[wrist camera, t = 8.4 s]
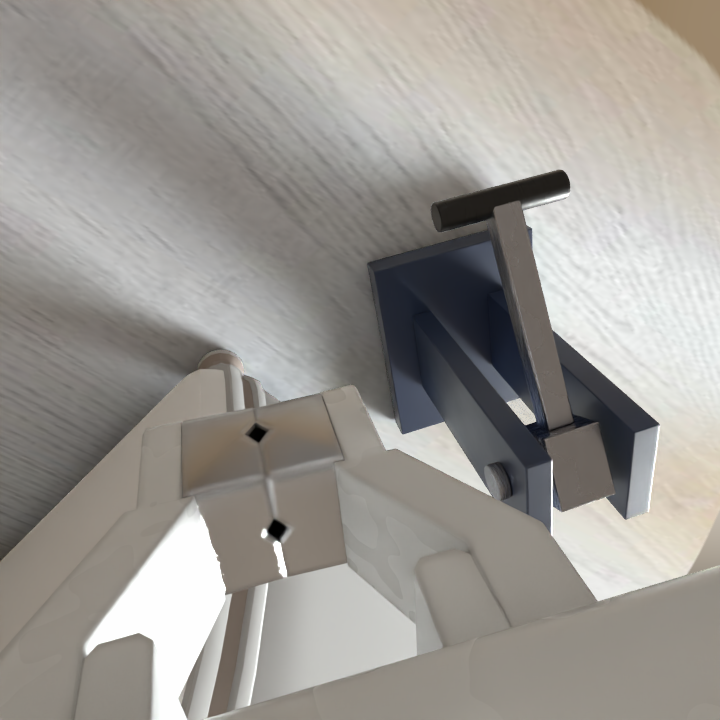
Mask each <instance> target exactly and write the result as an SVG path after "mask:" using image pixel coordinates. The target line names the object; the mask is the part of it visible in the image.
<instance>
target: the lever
mask: <svg viewBox="0 0 720 720" xmlns="http://www.w3.org/2000/svg"><path fill="white" fill-rule="evenodd" d="M569 193H570V182H569V178H568V176H567V174H566V173H565V172H564V171H563V170H556V171H552V172H549V173H545V174H541V175H537V176H533V177H529V178H526V179H522V180H518V181H514V182H510V183H507V184H503V185H499V186H495V187H491V188H488V189H484V190H480V191H476V192H472V193H469V194H465V195H461V196H457V197H453V198H450V199H446V200H442V201H438V202H434V203H433V204H432V206H431V216H432V220H433V224H434V226H435V228H436V230H437V231H438V232H445V231H448V230H452V229H456V228H459V227H463V226H467V225H470V224H474V223H478V222H482V221H485V220H486V223H487V227H488V231H489V235H490V239H491V243H492V247H493V251H494V255H495V259H496V262H497V266H498V270H499V274H500V278H501V282H502V286H503V290H504V294H505V298H506V302H507V306H508V310H509V314H510V318H511V322H512V326H513V330H514V334H515V338H516V342H517V346H518V350H519V354H520V358H521V362H522V366H523V370H524V374H525V378H526V382H527V386H528V390H529V394H530V398H531V402H532V406H533V410H534V414H535V418H536V422H535V423H531V424H528V425H525V426H526V428H527V429H528V430H529V431H530V433H531V434H532V435H533V436H534V437H535V439H536V440H537V441H538V442H539V444H540V445H541V446H542V447H543V448H544V450H545V451H546V452H547V453H548V455H549V456H550V457H551V458H552V461H553V465H552V506H553V507H555V508H556V509H558V510H559V511H561V512H564V511H567V510H570V509H573V508H576V507H579V506H582V505H585V504H588V503H591V502H593V501H596V500H599V499H602V498H605V497H608V496H611V495H614V494H616V492H615V487H614V483H613V479H612V475H611V471H610V467H609V462H608V458H607V454H606V450H605V446H604V442H603V437H602V433H601V429H600V425H599V422H597V421H594V420H590V419H587V418H584V417H581V416H577V415H574V414H572V410H571V406H570V402H569V398H568V394H567V389H566V385H565V381H564V377H563V373H562V369H561V365H560V361H559V357H558V353H557V349H556V345H555V340H554V336H553V332H552V328H551V324H550V320H549V316H548V312H547V308H546V304H545V300H544V296H543V291H542V287H541V283H540V279H539V275H538V271H537V267H536V263H535V259H534V255H533V251H532V247H531V242H530V238H529V234H528V230H527V226H526V222H525V218H524V214H523V210H526V209H530V208H533V207H537V206H541V205H545V204H548V203H552V202H556V201H559V200H563V199H566V198H567V197H568V195H569Z"/></svg>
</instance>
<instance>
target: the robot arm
mask: <svg viewBox="0 0 720 720" xmlns="http://www.w3.org/2000/svg"><path fill="white" fill-rule="evenodd" d="M345 563H348V566H349V567H350V568H351V569H352V570H353V571H354V572H356V573H357V574H358V575H359V576H360V577H361V578H362V579H364V580H365V581H366V582H367V583H368V584H369V585H371V586H372V587H373V588H374V589H375V590H376V591H377V592H379V593H380V594H381V595H382V596H383V597H384V598H386V599H387V600H388V601H389V602H390V603H391V604H392V605H394V606H395V607H396V608H397V609H398V610H399V611H401V612H402V613H403V614H404V615H405V616H406V617H408V618H409V619H410V620H411V621H412V622H413V623H414V624H416V641H417V656H414V657H411V658H407V659H404V660H401V661H397V662H394V663H391V664H387V665H384V666H380V667H377V668H374V669H370V670H367V671H364V672H360V673H357V674H354V675H350V676H347V677H343V678H340V679H337V680H333V681H330V682H327V683H323V684H320V685H317V686H313V687H310V688H307V689H303V690H300V691H296V692H293V693H290V694H286V695H283V696H280V697H276V698H273V699H270V700H266V701H263V702H260V703H256V704H253V705H249V706H246V707H243V708H239V709H236V710H233V711H229V712H226V713H223V714H219V715H216V716H213V717H209V718H206V719H202V720H720V565H719V566H716V567H712V568H709V569H706V570H702V571H699V572H695V573H692V574H689V575H685V576H682V577H678V578H675V579H672V580H668V581H665V582H662V583H658V584H655V585H652V586H648V587H645V588H642V589H638V590H635V591H631V592H628V593H625V594H621V595H618V596H615V597H611V598H608V599H605V600H601V601H597V600H596V598H595V597H594V595H593V594H592V593H591V591H590V590H589V588H588V587H587V585H586V584H585V582H584V581H583V580H582V578H581V577H580V575H579V574H578V572H577V571H576V570H575V568H574V567H573V565H572V564H571V562H570V561H569V560H568V558H567V557H566V555H565V554H564V552H563V551H562V549H561V548H560V547H559V545H558V544H557V542H556V541H555V539H554V538H553V537H552V535H551V534H550V532H549V531H548V529H547V528H546V527H545V525H544V524H543V522H541V521H539V520H537V519H535V518H533V517H531V516H529V515H527V514H525V513H523V512H521V511H519V510H517V509H515V508H513V507H511V506H509V505H507V504H505V503H503V502H501V501H499V500H497V499H495V498H493V497H491V496H489V495H487V494H485V493H483V492H481V491H479V490H477V489H475V488H473V487H471V486H469V485H467V484H465V483H463V482H461V481H459V480H457V479H455V478H453V477H451V476H449V475H447V474H445V473H443V472H441V471H439V470H437V469H435V468H433V467H431V466H429V465H427V464H425V463H423V462H421V461H419V460H417V459H415V458H413V457H411V456H409V455H407V454H406V453H404V452H402V451H400V450H398V449H392V450H388V451H386V450H385V448H384V445H383V443H382V441H381V439H380V437H379V435H378V433H377V430H376V428H375V426H374V424H373V422H372V420H371V418H370V416H369V413H368V411H367V409H366V407H365V405H364V403H363V401H362V398H361V396H360V394H359V392H358V390H357V388H356V387H355V386H354V385H348V386H344V387H340V388H335V389H331V390H327V391H323V392H320V393H318V394H314V395H309V396H305V397H300V398H296V399H292V400H287V401H283V402H278V403H274V404H270V405H265V406H261V407H256V408H253V407H252V408H247V409H242V410H237V411H231V412H226V413H221V414H216V415H210V416H205V417H200V418H195V419H190V420H184V421H183V422H180V421H179V422H174V423H169V424H165V425H160V426H155V427H151V428H146V430H145V431H144V433H143V435H142V445H141V457H140V469H139V481H138V493H137V505H136V509H135V510H131V511H127V512H124V513H123V515H122V516H121V517H120V518H119V519H118V520H117V521H116V522H115V524H114V525H113V526H112V527H111V528H110V529H109V530H108V531H107V533H106V534H105V535H104V536H103V537H102V538H101V539H100V541H99V542H98V543H97V544H96V545H95V546H94V547H93V548H92V550H91V551H90V552H89V553H88V554H87V555H86V556H85V557H84V559H83V560H82V561H81V562H80V563H79V564H78V565H77V566H76V568H75V569H74V570H73V571H72V572H71V573H70V574H69V575H68V577H67V578H66V579H65V580H64V581H63V582H62V583H61V585H60V586H59V587H58V588H57V589H56V590H55V591H54V592H53V594H52V595H51V596H50V597H49V598H48V599H47V600H46V601H45V603H44V604H43V605H42V606H41V607H40V608H39V609H38V610H37V612H36V613H35V614H34V615H33V616H32V617H31V618H30V620H29V621H28V622H27V623H26V624H25V625H24V626H23V627H22V629H21V630H20V631H19V632H18V633H17V634H16V635H15V636H14V638H13V639H12V640H11V641H10V642H9V643H8V644H7V645H6V647H5V648H4V649H3V650H2V651H1V652H0V720H187V718H186V715H185V713H184V711H183V708H182V706H181V704H180V701H179V699H178V697H179V695H180V693H181V691H182V689H183V687H184V685H185V683H186V681H187V679H188V677H189V675H190V672H191V670H192V668H193V666H194V664H195V662H196V660H197V658H198V656H199V654H200V652H201V650H202V647H203V645H204V643H205V641H206V639H207V637H208V635H209V633H210V631H211V629H212V627H213V625H214V623H215V620H216V618H217V616H218V614H219V612H220V610H221V608H222V606H223V604H224V602H225V600H226V598H225V595H228V594H231V593H235V592H238V591H242V590H245V589H249V588H252V587H255V586H259V585H262V584H266V583H269V582H272V581H276V580H279V579H283V578H286V577H290V576H295V575H299V574H303V573H307V572H312V571H316V570H320V569H324V568H328V567H333V566H337V565H341V564H345ZM286 574H287V575H286Z"/></svg>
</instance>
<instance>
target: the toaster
mask: <svg viewBox="0 0 720 720" xmlns="http://www.w3.org/2000/svg"><path fill="white" fill-rule="evenodd" d="M278 402H280V401H279V400H277V399H276V398H275V397H273V396H272V395H270V394H269V393H268V392H266V391H265V390H264V389H263V388H262V385H261V383H260V382H259V381H258V380H256V379H254V378H252V377H249V376H246V375H244V367H243V364H242V361H241V359H240V358H239V357H238V356H237V355H236V354H235V353H233V352H231V351H228V350H215V351H212V352H209V353H208V354H206V355H205V356H203V357H202V359H201V360H200V362H199V363H198V370H197V371H194V372H192V373H191V374H189V375H187V376H186V377H185V378H184V379H183V380H181V381H180V382H179V383H178V384H177V385H176V386H175V387H174V388H173V389H172V390H171V391H170V392H169V393H168V394H167V395H166V396H165V397H164V398H163V399H162V400H161V401H160V402H159V403H158V404H157V405H156V406H155V407H154V408H153V409H152V410H151V411H150V412H149V413H148V414H147V415H146V416H145V417H144V418H143V419H142V420H141V421H140V422H139V423H138V424H137V425H136V426H135V427H134V428H133V429H132V430H131V431H130V432H129V433H128V434H127V435H126V436H125V437H124V438H123V439H122V440H121V441H120V442H119V443H118V444H117V445H116V446H115V447H114V448H113V449H112V450H111V451H110V452H109V453H108V454H107V455H106V456H105V457H104V458H103V459H102V460H101V461H100V462H99V463H98V464H97V465H96V466H95V467H94V468H93V469H92V470H91V471H90V472H89V473H88V474H87V475H86V476H85V477H84V478H83V479H82V480H81V481H80V482H79V483H78V484H77V485H76V486H75V487H74V488H73V489H72V490H71V491H70V492H69V493H68V494H67V495H66V496H65V497H64V498H63V499H62V500H61V501H60V502H59V503H58V504H57V505H56V506H55V507H54V508H53V509H52V510H51V511H50V512H49V513H48V514H47V515H46V516H45V517H44V518H43V519H42V520H41V521H40V522H39V523H38V524H37V525H36V526H35V527H34V528H33V529H32V530H31V531H30V532H29V533H28V534H27V535H26V536H25V537H24V538H23V539H22V540H21V541H20V542H19V543H18V544H17V545H16V546H15V547H14V548H13V549H12V550H11V551H10V552H9V553H8V554H7V555H6V556H5V557H4V558H3V559H2V560H1V561H0V652H1V651H2V650H3V649H4V648H5V647H6V645H7V644H8V643H9V642H10V641H11V640H12V639H13V638H14V636H15V635H16V634H17V633H18V632H19V631H20V630H21V629H22V627H23V626H24V625H25V624H26V623H27V622H28V621H29V620H30V618H31V617H32V616H33V615H34V614H35V613H36V612H37V610H38V609H39V608H40V607H41V606H42V605H43V604H44V603H45V601H46V600H47V599H48V598H49V597H50V596H51V595H52V594H53V592H54V591H55V590H56V589H57V588H58V587H59V586H60V585H61V583H62V582H63V581H64V580H65V579H66V578H67V577H68V575H69V574H70V573H71V572H72V571H73V570H74V569H75V568H76V566H77V565H78V564H79V563H80V562H81V561H82V560H83V559H84V557H85V556H86V555H87V554H88V553H89V552H90V551H91V550H92V548H93V547H94V546H95V545H96V544H97V543H98V542H99V541H100V539H101V538H102V537H103V536H104V535H105V534H106V533H107V531H108V530H109V529H110V528H111V527H112V526H113V525H114V524H115V522H116V521H117V520H118V519H119V518H120V517H121V516H122V515H123V513H124V512H127V511H131V510H135V509H136V505H137V493H138V481H139V469H140V457H141V445H142V435H143V433H144V431H145V430H146V428H151V427H155V426H160V425H165V424H169V423H174V422H179V421H180V422H183V421H184V420H190V419H195V418H200V417H205V416H210V415H216V414H221V413H226V412H231V411H237V410H242V409H247V408H252V407H253V408H256V407H261V406H265V405H270V404H274V403H278ZM286 575H287V574H286ZM225 598H226V600H225V602H224V604H223V606H222V608H221V610H220V612H219V614H218V616H217V618H216V620H215V623H214V625H213V627H212V629H211V631H210V633H209V635H208V637H207V639H206V641H205V643H204V645H203V647H202V650H201V652H200V654H199V656H198V658H197V660H196V662H195V664H194V666H193V668H192V670H191V672H190V675H189V677H188V679H187V681H186V683H185V685H184V687H183V689H182V691H181V693H180V695H179V697H178V699H179V701H180V704H181V706H182V708H183V711H184V713H185V715H186V718H187V720H202V719H206V718H209V717H213V716H216V715H219V714H223V713H226V712H229V711H233V710H236V709H239V708H243V707H246V706H249V705H253V704H256V703H260V702H263V701H266V700H270V699H273V698H276V697H280V696H283V695H286V694H290V693H293V692H296V691H300V690H303V689H307V688H310V687H313V686H317V685H320V684H323V683H327V682H330V681H333V680H337V679H340V678H343V677H347V676H350V675H354V674H357V673H360V672H364V671H367V670H370V669H374V668H377V667H380V666H384V665H387V664H391V663H394V662H397V661H401V660H404V659H407V658H411V657H414V656H417V641H416V624H414V623H413V622H412V621H411V620H410V619H409V618H408V617H406V616H405V615H404V614H403V613H402V612H401V611H399V610H398V609H397V608H396V607H395V606H394V605H392V604H391V603H390V602H389V601H388V600H387V599H386V598H384V597H383V596H382V595H381V594H380V593H379V592H377V591H376V590H375V589H374V588H373V587H372V586H371V585H369V584H368V583H367V582H366V581H365V580H364V579H362V578H361V577H360V576H359V575H358V574H357V573H356V572H354V571H353V570H352V569H351V568H350V567H349V566H348V563H345V564H341V565H337V566H333V567H328V568H324V569H320V570H316V571H312V572H307V573H303V574H299V575H295V576H290V577H286V578H283V579H279V580H276V581H272V582H269V583H266V584H262V585H259V586H255V587H252V588H249V589H245V590H242V591H238V592H235V593H231V594H228V595H225Z"/></svg>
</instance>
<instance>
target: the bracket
mask: <svg viewBox="0 0 720 720" xmlns="http://www.w3.org/2000/svg"><path fill="white" fill-rule="evenodd" d="M526 226H527V225H526ZM527 230H528V234H529V238H530V242H531V247H532V228H530V227H529V226H527ZM368 269H369V275H370V280H371V286H372V292H373V297H374V303H375V308H376V314H377V319H378V325H379V331H380V336H381V342H382V347H383V353H384V358H385V364H386V370H387V375H388V381H389V386H390V392H391V397H392V403H393V409H394V414H395V420H396V423H397V425H398V427H399V429H400V431H401V433H402V434H406V433H409V432H412V431H415V430H419V429H422V428H425V427H428V426H431V425H435V424H438V423H441V422H444V421H445V423H446V424H447V426H448V428H449V429H450V431H451V432H452V434H453V435H454V437H455V439H456V440H457V442H458V443H459V445H460V446H461V448H462V450H463V451H464V453H465V454H466V456H467V457H468V459H469V461H470V462H471V464H472V465H473V467H474V468H475V470H476V472H477V473H478V475H479V476H480V478H481V479H482V481H483V483H484V484H485V486H486V487H487V489H488V490H489V492H490V494H491V495H492V497H493V498H495V499H497V500H499V501H501V502H503V503H505V504H507V505H509V506H511V507H513V508H515V509H517V510H519V511H521V512H523V513H525V514H527V515H529V516H531V517H533V518H535V519H537V520H539V521H541V522H543V524H544V525H545V527H546V528H547V529H548V531H549V532H550V534H551V535H552V465H553V461H552V458H551V457H550V456H549V455H548V453H547V452H546V451H545V450H544V448H543V447H542V446H541V445H540V444H539V442H538V441H537V440H536V439H535V437H534V436H533V435H532V434H531V433H530V431H529V430H528V429H527V428H526V426H525V425H524V424H523V423H522V422H521V420H520V419H519V418H518V417H517V415H516V414H515V413H514V412H513V411H512V409H511V408H510V407H509V406H508V404H507V403H506V402H508V401H512V400H515V399H518V398H521V400H522V401H523V402H524V403H525V404H526V405H527V406H528V408H529V409H530V410H531V411H532V412H533V413H534V410H533V406H532V402H531V398H530V394H529V390H528V386H527V382H526V378H525V374H524V370H523V366H522V362H521V358H520V354H519V350H518V346H517V342H516V338H515V334H514V330H513V326H512V322H511V318H510V314H509V310H508V306H507V302H506V298H505V294H504V290H503V286H502V282H501V278H500V274H499V270H498V266H497V262H496V259H495V255H494V251H493V247H492V243H491V239H490V235H489V231H488V230H487V231H483V232H479V233H476V234H472V235H468V236H465V237H461V238H457V239H454V240H450V241H446V242H443V243H439V244H435V245H432V246H428V247H424V248H421V249H417V250H413V251H409V252H406V253H402V254H398V255H395V256H391V257H387V258H384V259H380V260H376V261H373V262H369V263H368ZM552 332H553V336H554V340H555V345H556V349H557V353H558V357H559V361H560V365H561V369H562V373H563V377H564V381H565V385H566V389H567V394H568V398H569V402H570V406H571V410H572V414H574V415H577V416H581V417H584V418H587V419H590V420H594V421H597V422H599V425H600V429H601V433H602V437H603V442H604V446H605V450H606V454H607V458H608V462H609V467H610V471H611V475H612V479H613V483H614V487H615V492H616V494H614V495H611V496H608V497H606V498H607V499H608V500H609V501H610V503H611V504H612V505H613V506H614V507H615V508H616V510H617V511H618V512H619V513H620V514H621V515H622V516H623V518H624V519H625V520H626V519H629V518H632V517H635V516H638V515H641V514H644V513H647V512H648V510H649V502H650V495H651V487H652V480H653V472H654V465H655V457H656V450H657V442H658V435H659V427H660V424H659V423H658V422H657V421H656V420H654V419H653V418H652V417H651V416H650V415H649V414H648V413H646V412H645V411H644V410H643V409H642V408H641V407H640V406H638V405H637V404H636V403H635V402H634V401H633V400H632V399H630V398H629V397H628V396H627V395H626V394H625V393H624V392H623V391H621V390H620V389H619V388H618V387H617V386H616V385H615V384H613V383H612V382H611V381H610V380H609V379H608V378H607V377H605V376H604V375H603V374H602V373H601V372H600V371H599V370H597V369H596V368H595V367H594V366H593V365H592V364H591V363H589V362H588V361H587V360H586V359H585V358H584V357H583V356H581V355H580V354H579V353H578V352H577V351H576V350H575V349H574V348H572V347H571V346H570V345H569V344H568V343H567V342H566V341H564V340H563V339H562V338H561V337H560V336H559V335H558V334H556V333H555V332H554V331H553V330H552ZM534 415H535V414H534Z"/></svg>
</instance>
